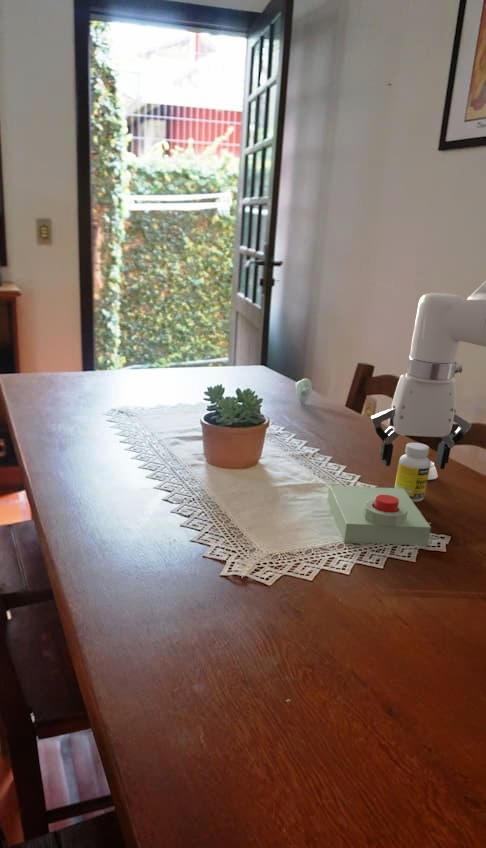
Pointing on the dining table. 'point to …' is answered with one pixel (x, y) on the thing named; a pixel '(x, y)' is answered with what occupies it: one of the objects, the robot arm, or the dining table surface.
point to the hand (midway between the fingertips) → (412, 465)
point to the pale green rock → (303, 390)
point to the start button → (386, 503)
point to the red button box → (376, 517)
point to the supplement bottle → (414, 471)
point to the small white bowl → (432, 472)
